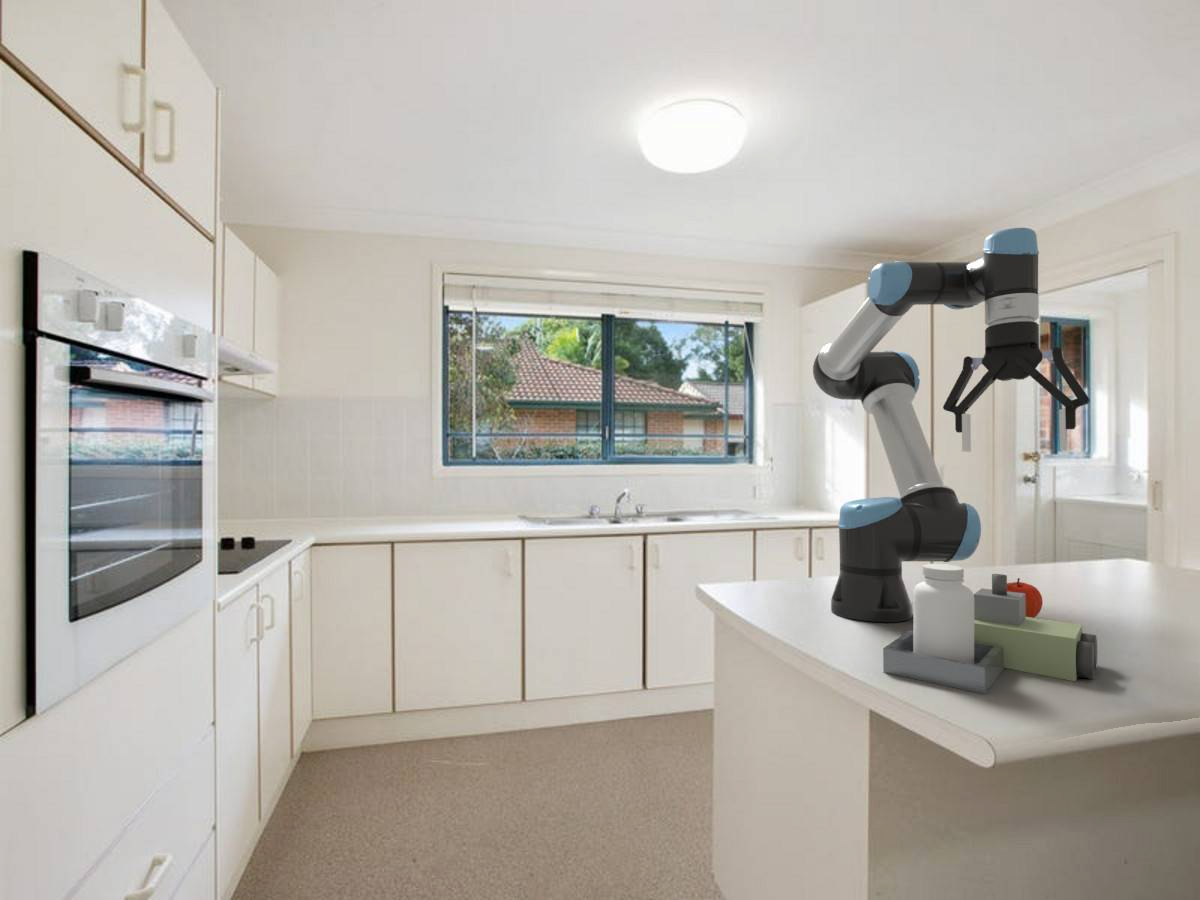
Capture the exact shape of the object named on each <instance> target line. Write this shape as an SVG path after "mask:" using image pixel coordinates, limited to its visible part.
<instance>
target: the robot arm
mask: <svg viewBox="0 0 1200 900" xmlns="http://www.w3.org/2000/svg"><path fill="white" fill-rule="evenodd" d="M1037 237H1038V236H1037V233H1036V231H1035V230H1034V229H1032V228H1029V227H1010V228H1005V229H1002V230H998V231H996V232H993V233H991V234H989V235H988V236H986V238H985V239H984V242H983V243H984V244H983V249H982V253H983V255H981V256H979V257H977V258H976V259H973V260H972V261H965V262H964V261H962V262H961V261H953V262H952V261H951V262H949V261H945V262H944V261H943V262H942V261H938V262H937V261H935V262H932V261H931V262H929V261H923V262H922V261H903V260H902V261H901V260H897V261H891V262H890V261H889V262H879V263H878V264H877V265H875V266H874V267H873V268H872V270H871V271H870V275H869V277H868V279H867V283H866V284H867V285H866V288H867V289H866V292H867V296H868V297H867V298H866V299H865V300H864V301H863V303H862V304H861V305H860V307H859V309H858V310H857V311H856V312H855V313H854V314H853V316H852V317H851V318H850V320H849V321H848V322H847V323H846V325H845V327H843V329H841V331H840V333H839V334H838V335H837V336H836V337H835V339H834V340H833V342H829V343H828V344H827V343H826V345H825V346H823V347H822V348H821V350H819V352H818V353H817V355H816V357H815V359H814V361H813V367H812V374H813V377H814V381H815V384H816V385H817V386H818V388H819V389H820V390H821V391H822V392H823V393H824V394H826V395H828V396H830V397H832V398H834V399H838V400H845V401H846V400H847V401H849V400H852V401H853V400H854V401H856V400H857V401H858V400H859V401H860V402H861V404H862V408H863V409H864V412H866V413H868V414H871V415H872V417H873V419H874V422H875V425H876V427H877V430H878V434H879V437H880V440H881V442H882V447H883V448H884V451H885V455H886V457H887V460H888V464H889V465H890V469H891V472H892V475H893V478H894V481H895V485H896V487H897V490H898V493H899V496H900V497H896V496H895V497H893V496H887V497H886V496H884V497H871V498H870V497H868V498H861V499H855V500H851V501H848V502H847V501H846V502H845V503H843V505H841V507H840V510H839V520H838V524H837V526H838V529H839V531H838V534H839V536H838V538H839V539H838V541H839V576H838V578H837V582H836V583H835V584H836V585H835V587H834V591H833V593H832V596H831V600H830V611H831V612H832V613H834V614H836V615H838V616H841V617H843V618H847V619H851V620H858V621H862V622H863V621H865V622H872V623H873V622H875V623H899V622H906V621H909V620H911V619H912V618H913V605H912V602H911V599H910V597H909V594H908V591H907V587H906V586H905V583H904V579H903V568H902V567H903V562H943V563H950V562H957V561H958V562H959V561H964V560H967V559H969V558H970V557H971V556H973V555H974V553H975V552H976V551H977V549H978V546H979V544H980V539H981V534H982V523H981V518H980V514H979V512H978V511H977V509H976V508H975V507H974V506H973V505H971V504H969V503H967V502H962V503H960V501H959V500H958V499H959V498H958V497H957V494H956V492H955V490H954V489H953V488H952V487H949V486H946V485H944V484H943V483H944V482H943V481H942V478H941V476H940V473H939V470H938V468H937V465H936V463H935V460H934V458H933V457H934V456H933V455H932V452H931V449H930V446H929V444H928V442H927V439H926V437H925V435H924V431H923V429H922V427H921V424H920V421H919V418H918V416H917V414H916V411H915V408H914V405H913V403H912V402H913V401H914V399H915V397H916V394H917V392H918V390H919V387H920V383H921V382H920V381H921V379H920V378H919V376H920V370H919V367H918V364H917V362H916V361H915V359H914V357H912V356H911V355H910V354H908V353H906V352H903V351H894V350H886V351H873V350H874V348H875V347H876V346H877V345H878V344H879V343H880V342H881V341H882V340H883V339H884V337H885V336H886V335H887V334H888V333H889V332H891V330H892V329H893V328H894V326H895V325H896V324H897V323H898V322H899V321H900V320H901V319H902V318H903V316H905V314H906V313H907V312H908V311H910V309H912V307H913V306H915V305H919V306H920V305H922V306H923V305H926V306H927V305H944V306H946V307H947V308H949V309H951V310H958V311H959V310H964V309H968V308H973V307H974V306H977V305H979V304H981V303H983V302H984V324H985V325H986V326H987V327H986V328H985V330H984V346H985V347H984V349H985V350H984V355H983V356H982V357H971V356H968V355H967V356H965V357H964V359H963V361H962V362H963V363H962V364H963V365H962V370H961V372H960V373H959V376H958V378H957V379H956V381H955V383H954V385H953V387H952V389H951V391H950V393H949V394H948V397H947V398H946V401H944V404H943V407H942V408H943V410H944V411H947V412H950V413H953V414H954V415H955V428H954V429H955V432H956V433H961V435H962V436H961V441H962V443H961V445H962V447H961V449H962V450H961V451H962V452H965V453H966V452H967V453H969V452H971V451H972V438H971V437H972V433H971V428H972V427H971V426H972V425H971V423H972V422H971V421H972V420H971V414H969V413H966V412H967V411H968V410H969V409H970V408H971V407H972V406H973V405H974V403H976V401H977V400H978V399H979V398H980V397H981V396H982V395H983V394H984V393H985V391H986V390H988V388H989V387H990V386H991V385H992V384H994V382H996V380H999V381H1002V382H1005V381H1007V382H1008V381H1010V380H1018V381H1019V380H1020V381H1021V380H1025V379H1027V378H1028V377H1029V376H1030V377H1031V379H1033V380H1034V381H1035V382H1036V383H1038V384H1039V385H1040V386H1041V387H1042V388H1043V389H1044V390H1046V391H1047V392H1048V393H1049V394H1050V395H1051V396H1052V397H1053V398H1055V400H1057V401H1058V402H1059V403H1060V404H1062V406H1063V407H1064V408H1063V409H1058V413H1059V414H1058V415H1059V416H1058V417H1059V418H1058V419H1059V421H1058V423H1059V424H1058V425H1059V451H1060V452H1061V451H1063V452H1064V451H1065V452H1067V451H1068V448H1069V447H1068V430H1075V429H1076V427H1077V421H1076V420H1077V419H1076V418H1077V417H1076V416H1077V413H1076V412H1077V409H1078V408H1080V407H1083V406H1086V405H1089V404H1090V403H1091V400H1090V399H1091V398H1090V397H1089V396H1088V394H1087V392H1085V390H1084V389H1083V387H1082V385H1081V384H1080V382H1079V381H1078V379H1077V378H1076V377H1075V375H1074V373H1073V372H1072V371H1071V369H1070V367H1069V366H1068V365H1067V363H1066V361H1065V355H1064V350H1062V349H1061V347H1054V348H1052V349H1049V350H1045V351H1042V350H1041V349H1040V324H1039V323H1038V322H1037V320H1038V319H1039V318H1040V314H1039V313H1040V312H1039V306H1040V305H1039V303H1040V302H1039V300H1040V298H1039V254H1040V251H1039V248H1038V238H1037ZM1043 359H1046V360H1047V362H1049V363H1050V364H1054V366H1055V367H1056V369H1057V370H1058V371H1059V373H1060V375H1061V377H1062V378H1063V379H1064V381H1065V382H1066V385H1068V387H1069V388H1070V390H1071V391H1072V393H1073V395H1074V396H1075V399H1071V398H1069V397H1068V396H1067V394H1065V393H1064V392H1062V390H1060V389H1059V388H1058V387H1057V386H1055V384H1053V383H1052V382H1051V381H1050V380H1049V379H1048V378H1047V377H1045V375H1044V374H1042V373H1041V372H1040V371H1039V370H1037V369H1036V368H1037V367H1038V366H1039V364H1040V363H1042V361H1043ZM981 365H983V367H984V368H986V369H987V371H986V372H985V374H984V375H983V376H982V377H981V379H980V380H979V381H978V382H977V384H976V385H975V386H973V388H972V389H971V390H970V391H969V392H968V394H967V395H966V396H965V397H964V398H963V399H962V401H960V402H959V400H960V398H961V396H962V395H963V392H964V391H965V390H966V387H967V385H968V384H969V381H970V380H971V377H972V376H973V373H974V371H976V370H978V369H979V367H980V366H981ZM958 402H959V404H958ZM957 404H958V405H957Z"/></svg>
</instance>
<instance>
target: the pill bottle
mask: <svg viewBox="0 0 1200 900" xmlns="http://www.w3.org/2000/svg"><path fill="white" fill-rule="evenodd" d="M964 573H965V572H964V568H963V567H961V566H959V565H954V564H949V563H948V564H947V563H946V564H945V563H927V564H923V565H922V575H923V577H922V578H923V579H924V581H920V582H919V583H917V584H916V585H915V586H914V589H913V602H912V603H913V605H912V618H913V619H912V620H913V622H912V623H913V625H912V626H913V628H912V629H913V630H912V631H913V652H915V653H921V654H926V655H931V656H936V657H941V658H947V659H952V660H957V661H962V662H968V663H973V664H974V592H973V591H972V589H970V588H969V587H968V586H966V585H964V584H962V583H964V582H965V579H964Z"/></svg>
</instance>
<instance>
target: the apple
mask: <svg viewBox="0 0 1200 900" xmlns="http://www.w3.org/2000/svg"><path fill="white" fill-rule="evenodd" d="M1020 581H1021V579H1020V577H1018V578H1017V581H1013V582H1007V591H1008V592H1017V593H1025V606H1026V617H1031V618H1037V616H1038V615H1039V614H1040V612H1041V610H1042V608H1043V602H1044V601H1043V596H1042V594H1041V592H1040V590H1039V589H1038V588H1037V587H1035V586H1034V585H1032V584H1028V583H1026V582H1022V581H1021V582H1020Z"/></svg>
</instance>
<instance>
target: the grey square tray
mask: <svg viewBox="0 0 1200 900" xmlns="http://www.w3.org/2000/svg"><path fill="white" fill-rule="evenodd" d="M882 654H883V655H882V657H883V658H882V662H883V664H882V665H883V667H882V669H883V671H882V672H883V673H887V674H891V675H895V676H899V677H905V678H910V679H914V680H918V681H923V682H927V683H931V684H935V685H941V686H946V687H950V688H955V689H960V690H965V691H969V692H973V693H978V694H982V695H986V694H987V692H988V691H989V690H990V689H991V687H992V685H994V683H995V682H996V680H997V679H998V678H999V676H1000V675H1001V674H1002V672H1003V671H1004V670H1005V669H1004V656H1003V646H1000V645H994V644H988V643H982V642H976V641H974V664H973V663H968V662H962V661H957V660H952V659H947V658H941V657H936V656H931V655H926V654H921V653H915V652H913V630H912V629H909V630H908V631H907V632H905V633H903V634H901V636H899V637H898V638H896V639H895V640H893V641H892V642H890V643H888V644H887V645H885V646H884V647H883V649H882Z"/></svg>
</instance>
